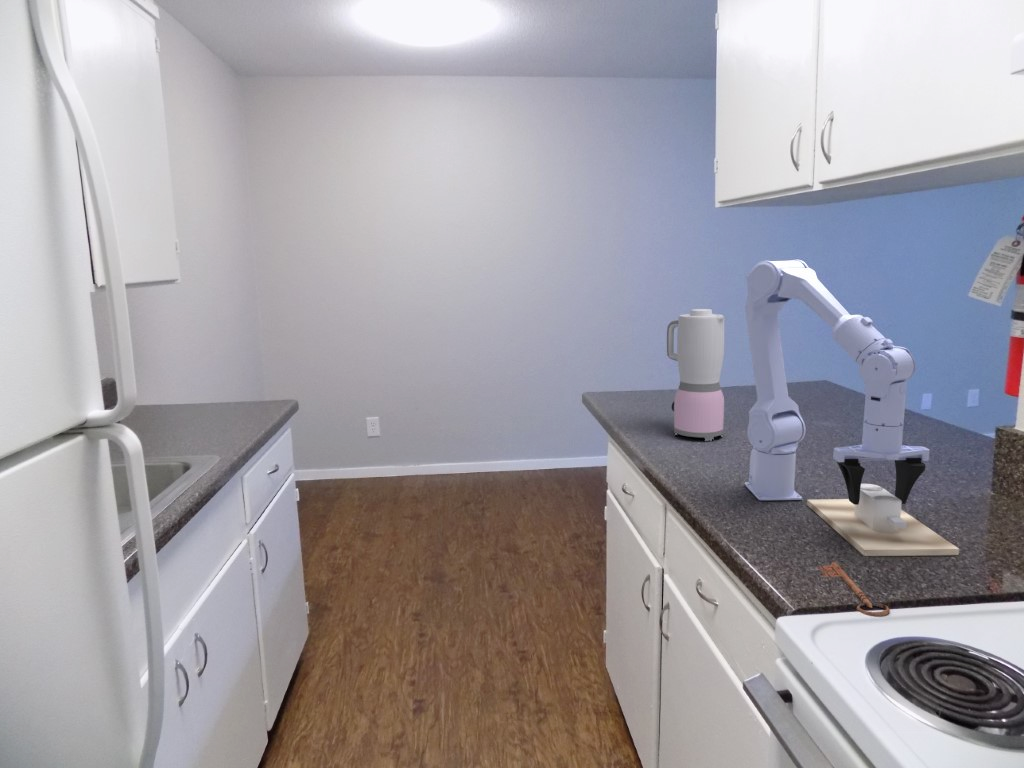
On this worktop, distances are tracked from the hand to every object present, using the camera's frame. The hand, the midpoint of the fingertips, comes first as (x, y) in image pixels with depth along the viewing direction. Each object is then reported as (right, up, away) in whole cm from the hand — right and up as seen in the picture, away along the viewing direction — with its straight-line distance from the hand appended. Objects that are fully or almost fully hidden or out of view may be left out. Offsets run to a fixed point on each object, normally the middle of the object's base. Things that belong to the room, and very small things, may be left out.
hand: (877, 502), depth 114 cm
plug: (0, -4, -1) cm, 4 cm away
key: (-14, -9, -19) cm, 26 cm away
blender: (-14, +6, +62) cm, 64 cm away
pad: (0, -4, +1) cm, 4 cm away
